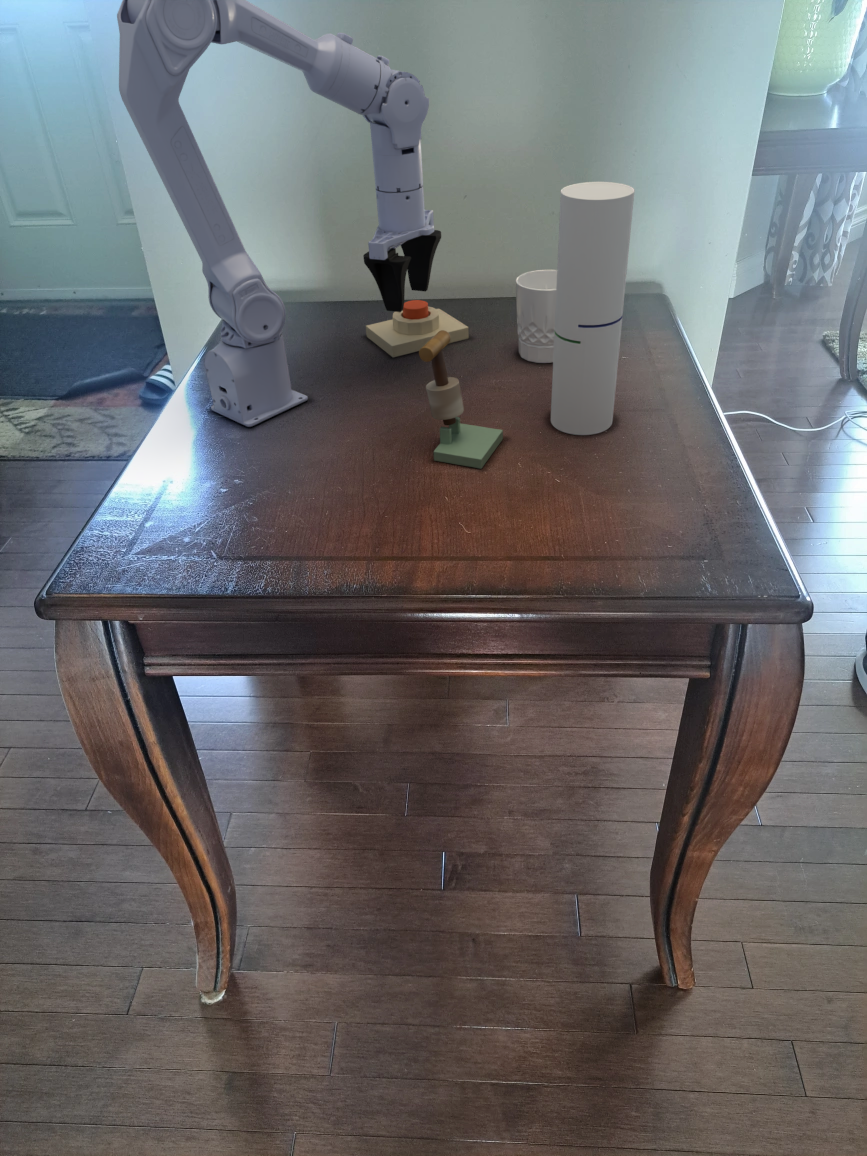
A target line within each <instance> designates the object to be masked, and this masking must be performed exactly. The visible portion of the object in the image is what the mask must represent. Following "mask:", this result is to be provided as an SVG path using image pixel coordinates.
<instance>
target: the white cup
mask: <svg viewBox="0 0 867 1156" xmlns="http://www.w3.org/2000/svg"><path fill="white" fill-rule="evenodd" d="M556 287H557V269H537V270H530V271H527V272H523V273H521V274H520V275H518V276H517V277H516V278H515V301H516V302H515V303H516V305H515V306H516V325H517V328H516V329H517V337H518V339H517V341H518V354H519V356H520V358H522V359H523V360H525V361H527V362H531V363H536V364H550V363H551V364H553V354H554V332H555V309H556Z"/></svg>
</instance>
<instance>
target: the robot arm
mask: <svg viewBox="0 0 867 1156" xmlns="http://www.w3.org/2000/svg"><path fill="white" fill-rule="evenodd" d="M116 18H117V19H116V20H117V25H118V26H117V27H118V32H119V55H118V92H119V95H120V99H121V100H122V102H123V104H124V107H125V108H126V111H127V113H128V115H129V117H130V119H131V121H132V123H133V125H134V127H135V129H136V131H137V133H138V135H139V137H140V138H141V141H142V143H143V145H144V147H145V148H146V151H147V153H148V155H149V157H150V159H151V161H152V164H153V165H154V167H155V169H156V172H157V173H158V175H159V178H160V179H161V182H162V183H163V185H164V188H165V190H166V192H167V193H168V196H169V198H170V199H171V202H172V204H173V206H174V208H175V210H176V212H177V215H178V216H179V218H180V220H181V222H182V224H183V226H184V229H185V231H186V233H187V235H188V236H189V238H190V241H191V242H192V245H193V246H194V248H195V251H196V253H197V255H198V257H199V258H200V261H201V263H202V264H201V265H202V269H201V271H202V274H203V276H204V278H205V280H206V283H207V287H208V295H207V296H208V302H209V305H210V308H211V310H212V312H213V313H214V314H215V315H216V316H217V317H218V318H220V319H221V321H222V324H221V327H220V328H221V329H220V334H219V335H220V338H221V339H220V341H219V342H218V343H217V345H216V346H215V347H213V348H212V349H210V350H208V352H206V353H205V354H204V362H203V363H204V369H205V375H206V378H207V383H208V387H209V391H210V395H211V400H212V405H211V406H210V410H211V411H213V412H214V413H217V414H219V415H221V416H223V417H226V418H227V419H230V420H232V421H235V422H236V423H238V424H240V425H243V426H245V427H247V428H251V427H253V426H256V425H258V424H260V423H263V422H264V421H266V420H268V419H270V418H272V417H275V416H277V415H280V414H282V413H283V412H286V411H288V410H289V409H292V408H294V407H296V406H298V405H300V404H302V403H304V402H306V401H308V399H309V398H308V395H305V394H303V393H301V392H299V391H296V390H294V389H292V383H291V377H290V370H289V365H288V358H287V352H286V346H285V342H284V341H285V340H284V335H283V328H284V326H285V323H286V318H287V313H286V312H287V311H286V307H285V304H284V302H283V299H282V298H281V297H280V296H279V295H278V294H277V293H276V292H275V291H273V290H272V289H271V288H270V287H269V285H268V284H267V283H266V282H265V279H264V277H263V275H262V272H261V271H260V270H259V268H258V266H257V265H256V264H255V263H254V261H253V259H252V258H251V257H250V255H249V253H247V251H246V248H245V246H244V244H243V242H242V240H241V237H240V235H239V232H238V231H237V228H236V226H235V223H234V222H233V220H232V218H231V216H230V213H229V211H228V208H227V206H226V204H225V202H224V200H223V198H222V195H221V193H220V191H219V189H218V186H217V184H216V182H215V179H214V177H213V176H212V173H211V171H210V168H209V166H208V164H207V162H206V160H205V158H204V155H203V153H202V151H201V148H200V146H199V144H198V142H197V140H196V137H195V135H194V133H193V130H192V129H191V126H190V124H189V122H188V120H187V117H186V116H185V113H184V111H183V108H182V107H181V105H180V101H179V100H180V96H181V93H182V92H183V91H182V90H183V88H184V85H185V83H186V80H187V77H188V75H189V72H190V69H191V68H192V67H193V66H194V65H195V63H196V62H197V61H198V60H199V59H200V58H201V57H202V55H203V54H204V53H205V52H206V51H207V50H208V48H209V46H210V45H211V44H217V45H226V44H231V43H236V42H237V43H239V44H242V45H244V46H246V47H248V48H250V49H252V50H254V51H257V52H259V53H261V54H263V55H265V56H267V57H270V58H272V59H274V60H276V61H278V62H281V63H283V64H285V65H287V66H290V67H292V68H294V69H297V70H298V71H301V72H302V73H303V76H304V78H305V81H306V84H307V85H308V87H309V89H310V90H311V92H312V93H315V94H317V95H319V96H321V97H323V98H325V99H327V100H329V101H331V102H333V103H335V104H337V105H339V106H342V107H344V108H346V109H348V110H350V111H351V112H354V113H356V114H358V115H360V116H362V117H363V119H365V121H366V122H368V123H369V128H370V139H371V140H370V141H371V152H372V153H371V154H372V163H373V174H374V186H375V187H374V188H375V199H376V209H377V220H378V225H377V227H376V228H375V232H374V234H373V236H372V239H370V240H369V241H368V242H367V245H368V251H367V252H365V253H363V263H364V265H365V266H366V268H367V269H368V271H369V272H370V274H371V275H372V277H373V279H374V281H375V283H376V285H377V288H378V290H379V293H380V296H381V298H382V302H383V304H384V307H385V310H386V311H387V312H393V313H394V312H401V311H403V307H404V303H405V293H406V291H405V290H406V289H405V287H406V285H405V284H406V277H407V276H408V282H409V286H410V289H411V291H415V292H416V291H417V292H425V293H426V292H427V291H429V285H430V279H431V273H432V267H433V262H434V258H435V255H436V251H437V249H438V246H439V244H440V241H441V240H442V231H441V230H439V229H435V226H434V225H435V221H434V220H435V219H434V210H433V209H425V208H426V207H425V195H424V175H423V174H424V173H423V155H422V153H423V152H422V138H423V137H422V127H423V123H424V121H425V120H426V118H427V115H428V112H429V108H430V98H429V97H428V96H426V94H425V93H426V92H425V89H424V87H423V85H422V84H420V83H421V81H420V80H419V78H418V77H417V76H415V75H414V74H413V73H412V72H411V73H410V72H408V71H402V70H397V69H392V68H391V67H390V58H387V57H385V56H384V55H379V54H378V55H377V56H376V57H375V56H374V55H372V54H370V53H368V52H366V51H364V50H362V49H361V48H359V47H357V46H355V45H353V43H354V38H353V37H352V36H350V35H349V34H347V33H345V32H339V31H338V32H337V33H336V35H335V34H333V33H330V32H328V33H325V34H323V35H321V36H319V37H317V38H315V39H314V38H312V37H310V36H308V35H306V34H304V33H303V32H301V31H300V30H298V29H296V28H294V27H293V26H291V25H290V24H288V23H286V22H284V21H282V20H281V19H279V18H278V17H276V16H274V15H272V14H270V12H267V11H266V10H264V9H262V8H260V7H259V6H257V5H255V4H253V3H252V2H251V1H248V0H122V1H121V3H120V5H119V8H118V10H117V13H116ZM399 247H401V251H402V252H403V255H399V252H397V249H398V248H399Z"/></svg>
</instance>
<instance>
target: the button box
mask: <svg viewBox="0 0 867 1156" xmlns="http://www.w3.org/2000/svg"><path fill="white" fill-rule="evenodd" d="M428 314H429V316H428V317H426V318H423V319H414V320H411V319H406V318H403V311H401V312H394V311H393V313H392V319H388V320H383V321H379V322H375V323H370V324H367V325H365V334H366V338H368V339H369V340H370V341H371V342H373V343H374V344H375V345H377V347H378V348H380V349H381V350H382V351H384V352H385V353H386V354H388V355H389V356H390V357H392V358H397V357H401V356H404V355H408V354H413V353H417V352H419V350H420V349H421V348H422V347H423V346H424V345H425V344H426V343H427V342H428V341H429V340H430V339H431V338H433V337H434V336H435V335H436V334H437V333H438V332H439V331H441V330H444V331H447V332H448V333H449V335H450V338H451V339H450V342H449V343H448V344H447V345H449V344H452V343H456V342H461V341H464V340H468V339H469V338H470V333H469V332H470V331H469V329H470V328H469V326H467V325H466V324H464V323H463V322H461V321H460V320H458V319H457V318H455V317H453V316H452V315H450V314H448V313H447V312H445V311H444V310H442V309H440V308H435V307H432V306H428Z"/></svg>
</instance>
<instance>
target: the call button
mask: <svg viewBox="0 0 867 1156" xmlns="http://www.w3.org/2000/svg"><path fill="white" fill-rule="evenodd" d="M428 307H429V303H428V302H427V301H425V300H420V299H413V300H408V301H406V302H405V301H404V307H403V318H406V319H411V320H414V319H423V318H426V317H428V316H429V314H428Z"/></svg>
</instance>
